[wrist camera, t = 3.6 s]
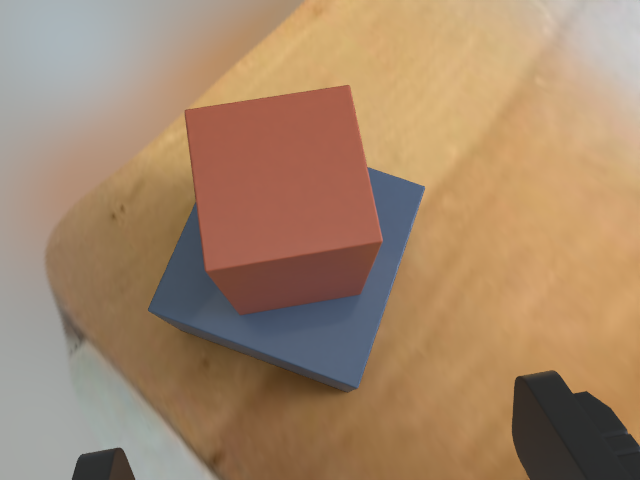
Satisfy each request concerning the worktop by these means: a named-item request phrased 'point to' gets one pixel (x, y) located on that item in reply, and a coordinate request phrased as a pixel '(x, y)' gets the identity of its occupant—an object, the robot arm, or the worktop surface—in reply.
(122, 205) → the worktop surface
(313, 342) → the base block
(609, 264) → the worktop surface
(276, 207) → the top block
